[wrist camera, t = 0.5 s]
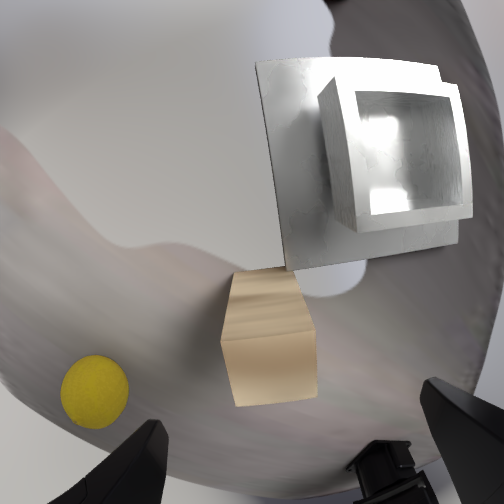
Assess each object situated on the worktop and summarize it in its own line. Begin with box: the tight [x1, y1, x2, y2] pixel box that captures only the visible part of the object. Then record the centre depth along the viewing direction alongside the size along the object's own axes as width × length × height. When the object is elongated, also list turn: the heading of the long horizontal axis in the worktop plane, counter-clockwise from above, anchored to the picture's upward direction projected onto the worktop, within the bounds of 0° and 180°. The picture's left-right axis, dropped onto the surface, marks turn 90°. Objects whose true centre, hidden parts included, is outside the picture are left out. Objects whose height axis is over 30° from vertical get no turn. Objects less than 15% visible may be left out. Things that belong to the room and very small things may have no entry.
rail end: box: [220, 266, 317, 407], centre depth 17 cm, size 4×4×9 cm
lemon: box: [60, 355, 129, 429], centre depth 19 cm, size 6×6×8 cm
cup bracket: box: [255, 57, 473, 271], centre depth 15 cm, size 14×14×6 cm
